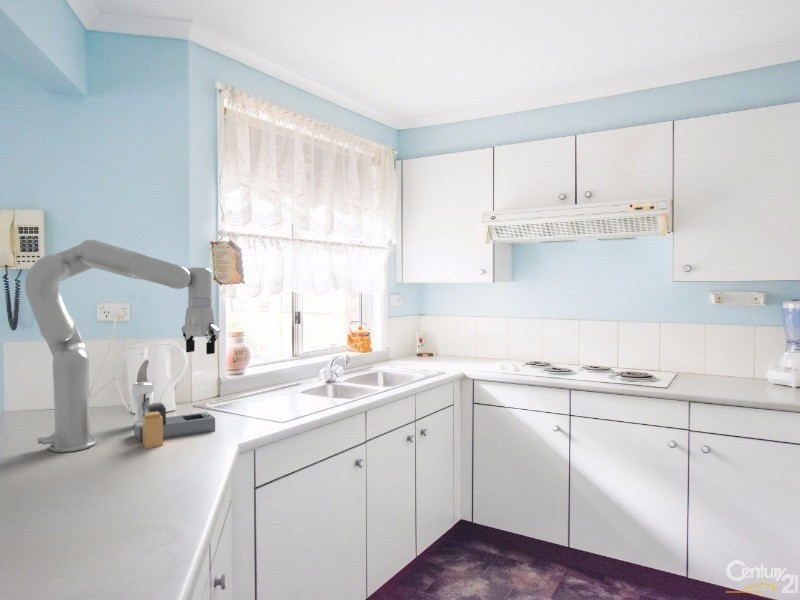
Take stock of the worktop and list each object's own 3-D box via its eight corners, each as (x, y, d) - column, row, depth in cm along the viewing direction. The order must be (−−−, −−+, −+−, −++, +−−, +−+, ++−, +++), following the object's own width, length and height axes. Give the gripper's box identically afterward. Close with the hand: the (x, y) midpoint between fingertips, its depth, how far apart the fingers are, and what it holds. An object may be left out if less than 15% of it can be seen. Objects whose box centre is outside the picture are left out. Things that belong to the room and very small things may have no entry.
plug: (145, 448, 173) (145, 416, 173) (142, 444, 177) (142, 412, 177) (163, 445, 176) (162, 414, 176) (159, 441, 180) (159, 410, 180)
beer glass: (158, 422, 203) (157, 381, 203) (147, 427, 196) (146, 385, 196) (139, 422, 204) (139, 381, 203) (128, 427, 197) (128, 385, 196)
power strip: (139, 442, 179) (138, 409, 179) (133, 435, 187) (133, 404, 187) (215, 430, 193) (214, 400, 192) (207, 424, 201) (206, 395, 201)
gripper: (173, 303, 193) (173, 352, 193) (209, 304, 184) (210, 355, 185) (190, 302, 199) (191, 349, 200) (226, 303, 191) (227, 353, 192)
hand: (200, 352), depth 192 cm, fingers open, 9 cm apart
